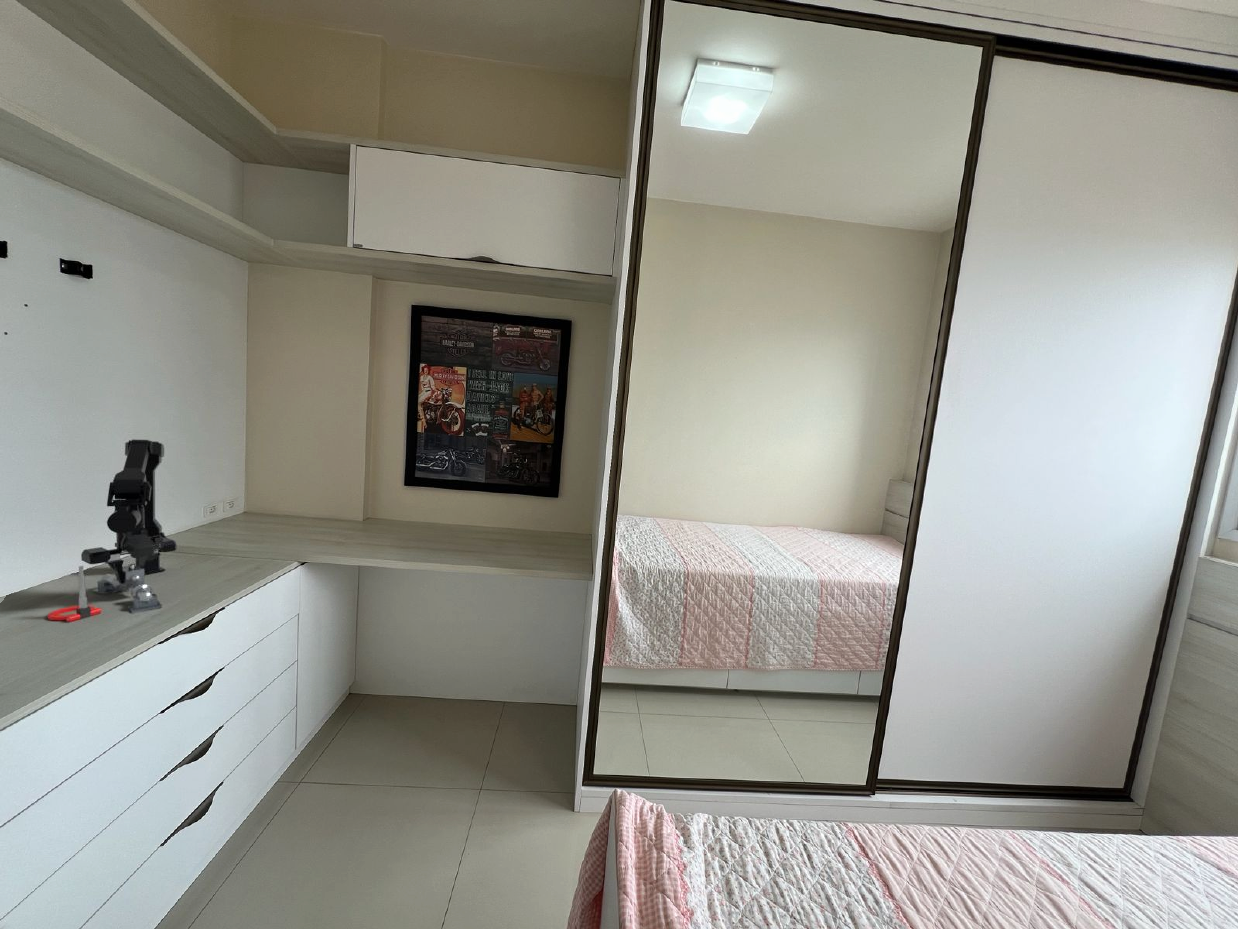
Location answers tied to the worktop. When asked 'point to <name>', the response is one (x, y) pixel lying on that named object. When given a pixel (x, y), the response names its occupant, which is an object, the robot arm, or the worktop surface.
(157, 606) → the shaft right
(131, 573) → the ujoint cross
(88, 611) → the tow hook
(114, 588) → the shaft left
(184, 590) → the worktop surface
